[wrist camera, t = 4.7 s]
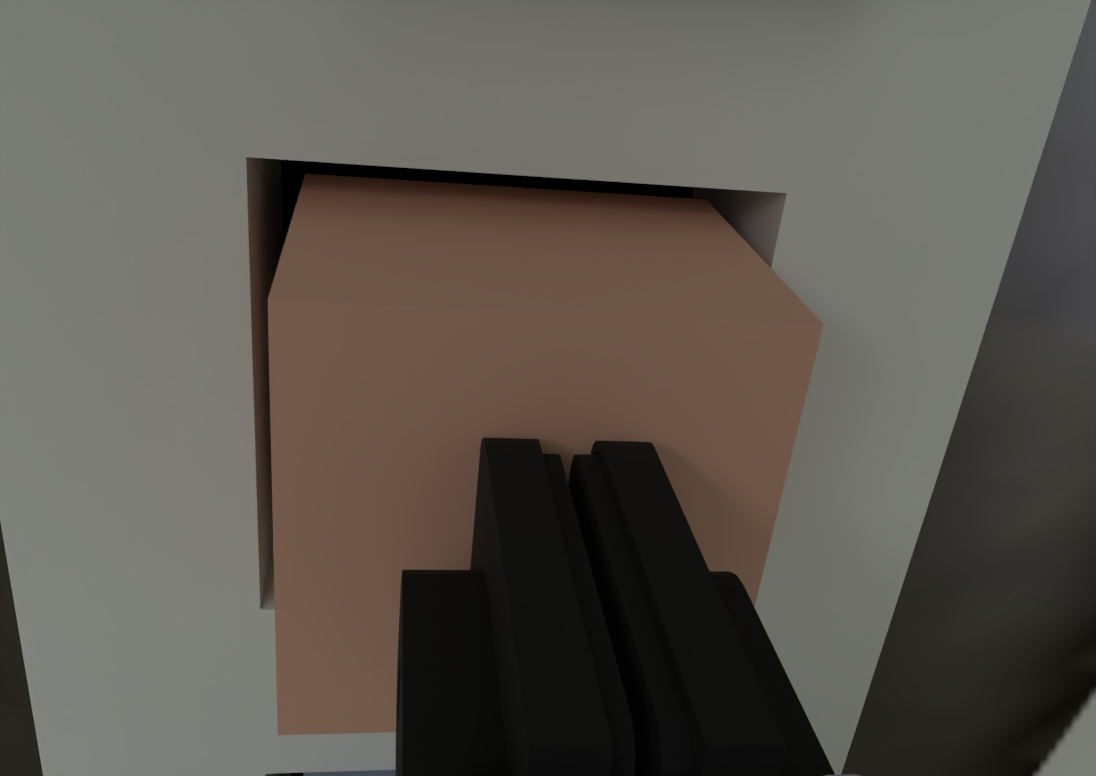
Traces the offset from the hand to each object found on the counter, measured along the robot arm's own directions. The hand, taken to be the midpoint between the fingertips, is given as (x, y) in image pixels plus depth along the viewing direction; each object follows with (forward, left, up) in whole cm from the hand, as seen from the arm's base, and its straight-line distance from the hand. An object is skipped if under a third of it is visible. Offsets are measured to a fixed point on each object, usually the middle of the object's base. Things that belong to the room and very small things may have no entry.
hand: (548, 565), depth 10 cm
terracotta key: (0, 0, -4) cm, 4 cm away
